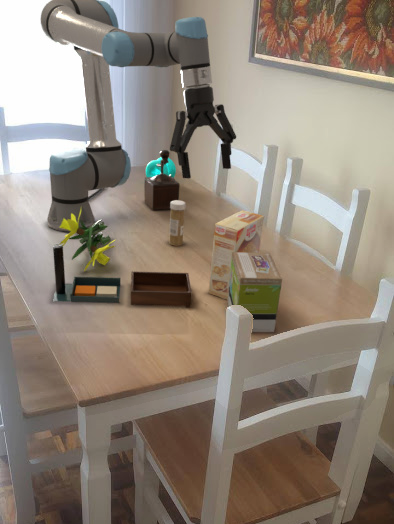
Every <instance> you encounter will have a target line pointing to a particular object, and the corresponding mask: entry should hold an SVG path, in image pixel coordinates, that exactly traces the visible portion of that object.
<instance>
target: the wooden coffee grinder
mask: <svg viewBox="0 0 394 524" xmlns="http://www.w3.org/2000/svg"><path fill="white" fill-rule="evenodd" d="M159 156H160V157H162V160H161V161H160V164H157V166H158V167H161V174H159V175H156V176H154V177H146V176H145V177H144V183H143V184H144V187H143V188H144V189H143V190H144V191H143V192H144V204H145V205H146V206H147V207H148V208H149V209H150V210H152V211H165V210H166V211H167V210H171V208H170V203H171V201H174V200H180V183H179V182H178V181H177V180H176V179H175V177H174V178H173V177H171V174H170V175H169V176H168V175H166V174H164V173H163V166H164V164H165V165H166V164H167V163H169V161H168V158H169V157H171V151H169V150H167V149H162V150H161V151H160V152H159Z"/></svg>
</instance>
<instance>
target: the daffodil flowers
mask: <svg viewBox="0 0 394 524" xmlns="http://www.w3.org/2000/svg"><path fill="white" fill-rule="evenodd" d="M80 214H81V210H80ZM80 214H79V217H80ZM80 222H81V226H82V227H80V226H78V223H79V218H78V222H76V218H75V216H74V215H73V214H72V213H71V219H67V220H66V219H64V218H63V221H62V223H61V226H60V228H63V229H67V230H70V231H71V232H68V233H67V234H65V235H64V238H63V239H62V240H61V241H60V243H59V244H60V245H63V247H64V246H66V244H67V242H68V241H69V240H78V241H79V243H80V244H81V246H79V247H78V249H76V251H75V252H74V253H73V256H72V257H71V261H73V260H74V259H77V257H78V256H79V255H81V254H82V253H83V252H84V251H85V250H86V249H87V250H88V253H89V257H90V259H89V261H88V262H87V264H86V265H85V267H84V270H83V272H87V270H88V268H89V267H90V265H91V264H92V267H94V266H95V263H96V262H98V263H99V264H100V265H102V266H106V265H107V264H108V263H109V262H110V260H111V257H110V256H107V255H106V254H105V253H104V252H105V251H107V250H109V249H113V248H115V247H116V245H112V246H110V244H112V243H114V242H115V241H116V239H114V240H112V239H111V236H110V235H106V236H104V233H103V232H102V231H104V230H106V229H107V228H108V227H109V226H108V225H106V224H105V222H104V221H103V219H99V220H97V221H95V223H94V224H93V225H92V226H91V227H90V228H87V227H86V226H85V225H84V223H83V222H82V221H81V220H80ZM75 234H76V235H75ZM111 240H112V241H111ZM100 243H101V244H102V247H99V246H98V245H99V244H100Z"/></svg>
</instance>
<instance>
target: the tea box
mask: <svg viewBox="0 0 394 524" xmlns="http://www.w3.org/2000/svg"><path fill="white" fill-rule="evenodd" d="M282 282H283V278H282V276H281V274H280V271H279V270H278V267H277V265H276V263H275V261H274V258H273V256H272V254H271V252H259V253H241V252H232V259H231V270H230V281H229V292H228V300H227V306H228V308H229V306H231V305H241V306H243V307H244V308H246V309H247V310H248V311H249V312H250V313H251V314H252V315H253V318H254V319H253V329H252V332H251V333H274V332H275V329H276V324H277V315H278V311H279V310H278V309H279V303H280V297H281V296H280V295H281V290H282V284H283V283H282Z"/></svg>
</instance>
